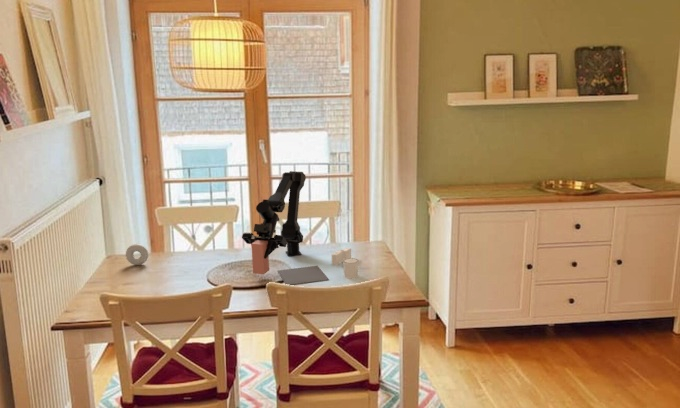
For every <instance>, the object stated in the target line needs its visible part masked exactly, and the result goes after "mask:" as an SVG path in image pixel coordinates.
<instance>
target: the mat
mask: <svg viewBox="0 0 680 408" xmlns="http://www.w3.org/2000/svg"><path fill="white" fill-rule="evenodd" d="M277 272H278V275H279V274H280V275H279V277H281V280H282V281H283V282H284V284H285V285H286V284H290V285H289V286H295V285H303V284H312V283H319V282H325V281H326V282H327V281H330V279H329V277H328V276H327V275H326V274H325V273H324V272H323V270H322V269H321V268H320V267H319V265H310V266H303V267H302V266H301V267H296V268H295V267H293V268H287V269H281V270H280V269H279V270H277Z"/></svg>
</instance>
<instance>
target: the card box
mask: <svg viewBox="0 0 680 408" xmlns="http://www.w3.org/2000/svg"><path fill="white" fill-rule="evenodd" d="M267 246H268V241H262V240H256V241H255V242H253V243H252V245H251V257H252V258H251V259H252V274H258V275H264V276H265V274H266V273H268V272H269V271H270V262H269V261H270V260H269V258H270V257H269V256H270V255H269V256H268V257H267V258H266V259H265V258H264V255H265V252H266V249H267Z"/></svg>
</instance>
